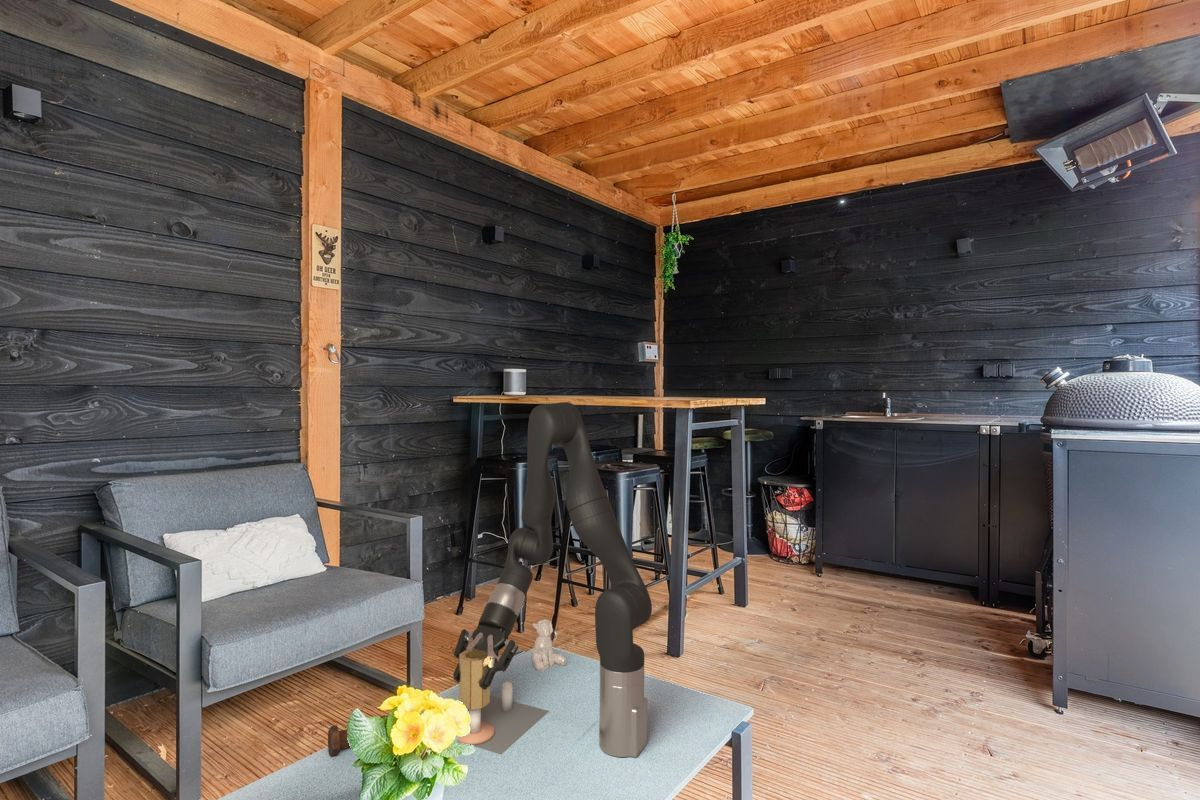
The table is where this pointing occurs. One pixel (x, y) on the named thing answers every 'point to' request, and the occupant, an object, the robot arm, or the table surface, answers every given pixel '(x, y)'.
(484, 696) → the sleeve
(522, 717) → the rod board
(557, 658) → the white creature statuette
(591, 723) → the table surface
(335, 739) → the bolt
